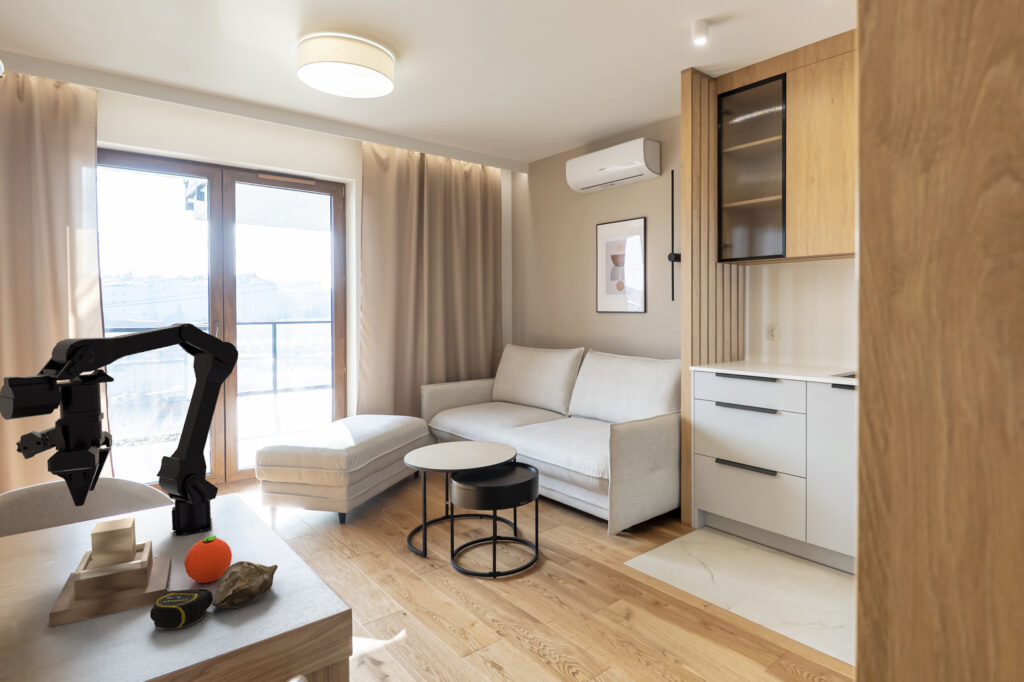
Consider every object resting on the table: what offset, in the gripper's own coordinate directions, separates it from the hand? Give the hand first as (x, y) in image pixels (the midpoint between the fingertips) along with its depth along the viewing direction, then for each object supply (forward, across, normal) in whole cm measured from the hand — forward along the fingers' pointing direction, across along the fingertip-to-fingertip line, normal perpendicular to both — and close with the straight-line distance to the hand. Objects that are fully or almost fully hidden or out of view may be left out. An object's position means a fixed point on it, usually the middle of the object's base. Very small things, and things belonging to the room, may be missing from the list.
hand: (85, 498), depth 98 cm
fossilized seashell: (+12, +27, +24) cm, 38 cm away
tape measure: (+12, +29, +15) cm, 35 cm away
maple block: (+7, +15, +6) cm, 18 cm away
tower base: (+12, +15, +6) cm, 20 cm away
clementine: (+12, +17, +19) cm, 28 cm away
